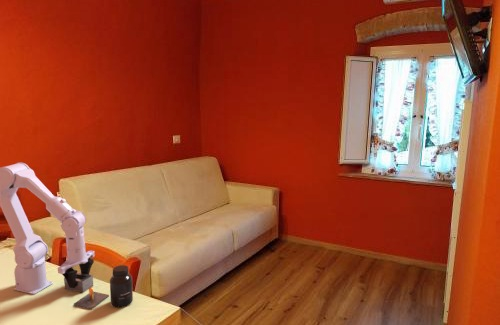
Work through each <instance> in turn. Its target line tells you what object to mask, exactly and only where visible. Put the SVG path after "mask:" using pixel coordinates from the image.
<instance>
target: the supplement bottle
mask: <svg viewBox="0 0 500 325" xmlns="http://www.w3.org/2000/svg"><path fill="white" fill-rule="evenodd" d="M129 270H130V269H129V266H127V265H125V264H120V265H117V266H115V267H113V268H112V276H111V277H110V279H109V288H110V289H109V292H110V295H109V297H110V305H111V306H112V307H113V308H117V309H119V308H120V309H121V308H125V307H128V306H130V305H131V304H132V303H133V301H134V293H133V291H134V290H133V289H134V288H133V275H131V273H130V271H129Z"/></svg>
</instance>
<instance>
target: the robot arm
mask: <svg viewBox="0 0 500 325" xmlns="http://www.w3.org/2000/svg"><path fill="white" fill-rule="evenodd" d="M21 188H22V189H27V190H29V192H31V193H32V194H33V195H35V197H37V198H38V199H40V200H41V201H42V202H43V203H44V204H45V209H46V210H47V211H48V212H49V213H50V214H51V215H52V216H53V217H54V218H55V219H56V220H57V221H59V222H60V223H61V225H60V227H61V230H62V231H63V232H64V233H65V234H64V235H65V236H64V237H65V243H66V254H67V255H66V256H67V259H66V261H64V262H63V263H62V264H61V265H59V266H58V267H57V274H60V275H62V276H63V278H65V279H66V281H67V283H68V285H69V288H73V289H74V288H75V287H76V274H77V272H78V270H76V269H74V267H76V266H79V269H80V270H79V271H80V273H83V274H88V275H90V272H91V268H92V266H93V264H94V262H95V259H93V258H94V257H95V255H96V254H95V250H87V251H86V243H85V242H86V241H85V240H86V239H85V227H84V225H85V224H86V223H87V217H86V215H85V214H84V212H82V211H80V210H77V209H75V208H73V207H72V206H71V205H70V204H68V202H67V200H66V199H65V198H62V197H61V196H55V195H54V194H52V192H51V190H49V189H48V188H47V187H46V186H45V184H44V183H43V182H42V181H41V180H40V179H39V178H38V177H37V176H36V173H35V171H34V170H33V169H32V168H30V167H29V165H28V164H26V163H24V162H16V163H15V164H11V165H6V166H1V167H0V208H1V210H2V213H3V215H4V217H5V220H6V221H7V224H8V226H9V228H10V230H11V233H12V235H13V237H14V240H15V243H14V247H13V253H14V262H15V264H16V265H15V268H14V281H15V287H14V288H13V290H15V291H18V292H23V293H26V294H31V295H35V294H37V293H39V292H40V291H42V290H44V289H46V288H48V287H50V286H51V285H53V283H54V281H50V280H47V279H48V277H47V269H46V255H47V254H48V252H49V248H48V247H49V246H48V244H46V242H44V240H43V239H42V237H41V236H39V235H38V234H35V233H34V230H33V228H32V226H31V223H30V221H29V220H28V217H27V215H26V213H25V211H24V208H23V206H22V204H21V201H20V199H19V196H18V195H17V192H18V189H21Z"/></svg>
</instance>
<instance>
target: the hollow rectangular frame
mask: <svg viewBox="0 0 500 325" xmlns="http://www.w3.org/2000/svg"><path fill="white" fill-rule="evenodd" d="M63 281H64V282H63V284H64V285H63V286H64V289H65V290H70V291H73V292H79V293H85V292H86V291H89V288H90V287H94V277H93V275H92V274H89V275H88V274H83V273H81V272H78V271H77V274H76V287H75V288H74V289H73V288H69V285H68V283H67V281H66V279H65V277H63Z"/></svg>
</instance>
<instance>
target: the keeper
mask: <svg viewBox="0 0 500 325" xmlns="http://www.w3.org/2000/svg"><path fill="white" fill-rule="evenodd" d="M109 297H110V295H109V294H108V293H107V294H106V293H102V292H97V291H94V286H92V287H90V288H89V289H88V294H85V295H84V296H83V297H82V298H80V299H79V300H77V301H76V302H74V303H73V306H74V307H79V308H83V309H87V310H93V309H95V308H96V307H97V306H98V305H100V304H101V303H102V302H103V301H105V300H106V299H108V298H109Z"/></svg>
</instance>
